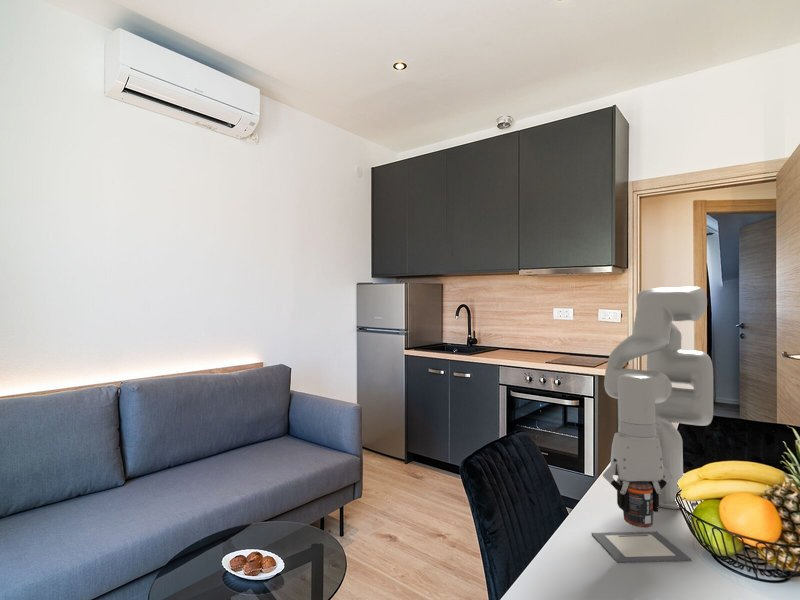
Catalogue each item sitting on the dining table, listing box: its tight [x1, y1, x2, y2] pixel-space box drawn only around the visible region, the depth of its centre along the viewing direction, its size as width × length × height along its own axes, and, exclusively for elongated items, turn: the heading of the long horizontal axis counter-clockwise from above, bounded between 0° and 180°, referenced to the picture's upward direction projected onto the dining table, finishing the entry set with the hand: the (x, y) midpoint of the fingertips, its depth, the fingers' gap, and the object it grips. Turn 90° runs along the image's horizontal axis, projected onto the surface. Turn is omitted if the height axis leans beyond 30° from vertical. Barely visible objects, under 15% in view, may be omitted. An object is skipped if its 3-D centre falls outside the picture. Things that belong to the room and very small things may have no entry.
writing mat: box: [591, 530, 693, 564], centre depth 101 cm, size 16×12×1 cm
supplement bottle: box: [622, 481, 654, 529], centre depth 101 cm, size 6×6×11 cm
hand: (638, 508), depth 101 cm, fingers closed on supplement bottle, 6 cm apart
